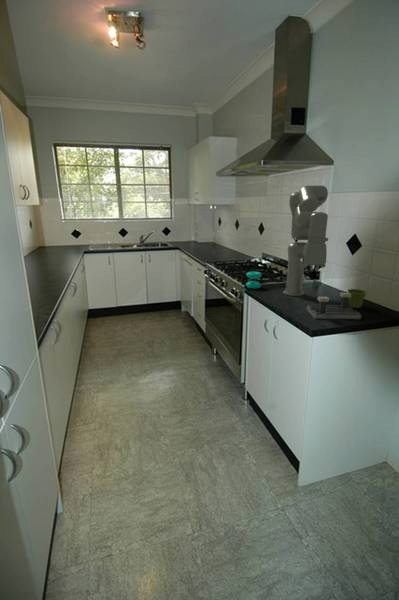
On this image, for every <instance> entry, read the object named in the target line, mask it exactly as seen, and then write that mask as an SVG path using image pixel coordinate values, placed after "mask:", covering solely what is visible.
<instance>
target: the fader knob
mask: <svg viewBox="0 0 399 600" xmlns="http://www.w3.org/2000/svg"><path fill="white" fill-rule="evenodd" d="M317 301H318V302H319V303H318V305H319V312H320V313H325V310H326V305H327V303H328V302H330V298H329V297H328V296H317Z"/></svg>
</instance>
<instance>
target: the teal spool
mask: <svg viewBox="0 0 399 600" xmlns="http://www.w3.org/2000/svg"><path fill="white" fill-rule="evenodd" d="M245 275H246V277H247V278H248V279H253V280H252V281H247V282H246V283H245V286H247V288H248V289H251V288H252V289H251V290H253V289H256V290H257V289H260V288H261V287H262V285H261V282H259V281H256V279H257V280H258V279H261V277H262V276H263V275H262V272H260V271H248V272H247V273H246V274H245Z"/></svg>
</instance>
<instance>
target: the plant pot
mask: <svg viewBox="0 0 399 600" xmlns="http://www.w3.org/2000/svg"><path fill="white" fill-rule="evenodd" d="M347 293H350V294H352V295H351V297H349V299H348V305H349V306H351V307H352V308H355V309H361V308H362V306H363V302H364V300H365V297H366V295H367V294H368V292H367V291H366V290H363V289H359V288H357V289H356V288H350V289H348V290H347Z"/></svg>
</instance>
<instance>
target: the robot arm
mask: <svg viewBox="0 0 399 600" xmlns="http://www.w3.org/2000/svg"><path fill="white" fill-rule="evenodd" d="M328 191H329V190H328V189H327V187H326V186H325V185H305V186H302V187H301V188H300V190H299V191H297V192H293V193H291V194H290V196H289V208H290V212H291V231H290V233H291V235H290V236H291V238H292V240H296V241H297V242H291V243H289V244H288V247H287V272H286V274H287V275H286V284H285V289H284V290H283V291H282V293H283V294H284V295H287V296H292V297H301V296H302V297H303V296H304V295H305V292H304V291H303V282H304V273H305V268H306V269H307V270H308V278H309V279H310V280H311V281H313V280H314V281H315V280H316V278H317V272H319V271H320V269H323V268H325V267H326V263H327V243H326V242H328V241H329V238H328V237H326V234H327V227H328V219H329V218H328V217H329V215H328V213H326V212H322V211H316V210H318V208H320V207H322V205H323V204H325V202H326V201H327V199H328V196H329V192H328ZM298 241H299V242H298ZM300 241H302V242H300ZM303 241H307V242H303Z"/></svg>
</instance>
